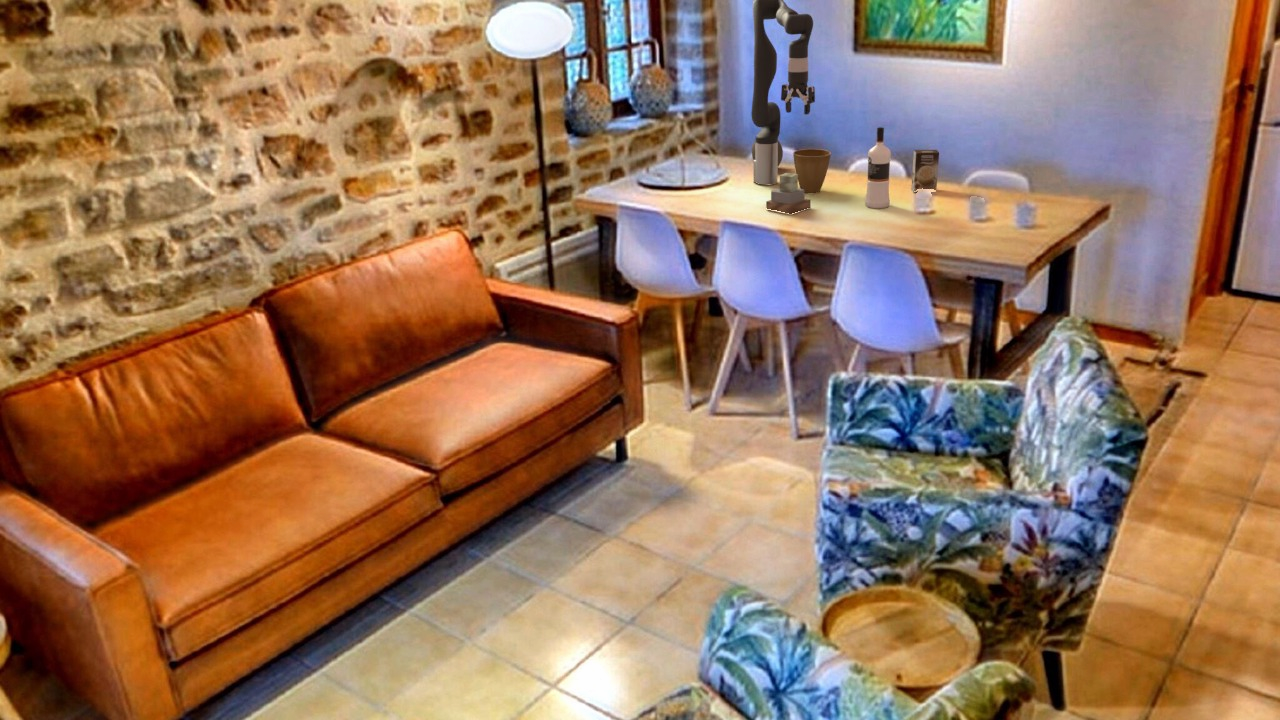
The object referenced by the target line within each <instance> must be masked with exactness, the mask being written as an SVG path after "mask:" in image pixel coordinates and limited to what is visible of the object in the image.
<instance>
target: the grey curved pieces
mask: <svg viewBox="0 0 1280 720" xmlns="http://www.w3.org/2000/svg"><path fill="white" fill-rule="evenodd" d="M783 153H784V150H783V146H782V144H781V143H780V140H778V167H779V166H780V165H781V163H782V160H783V156H784V155H783ZM751 157H752V160H753V161H754V160H755V141H754V143H753V144H752V146H751Z"/></svg>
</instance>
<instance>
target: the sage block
mask: <svg viewBox="0 0 1280 720" xmlns="http://www.w3.org/2000/svg"><path fill="white" fill-rule="evenodd" d="M798 185H799V182H798V174H796V173H789V172H785V173H782V174H780V175H779V188H780V191H782V192H794V191H796V190H797V188H798ZM798 189H799V188H798Z"/></svg>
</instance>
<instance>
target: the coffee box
mask: <svg viewBox="0 0 1280 720" xmlns="http://www.w3.org/2000/svg"><path fill="white" fill-rule="evenodd" d="M912 158H913V159H912V160H913V161H912V175H911V185H910V186H911V188H910V189H911V191H912V193H913V192H914V191H916V190H917V189H922V188H923V189H934V190H936V191H937V189H938V188H937V186H938V172H939V161H940V152H939V150H937V149H914V151H913V157H912Z"/></svg>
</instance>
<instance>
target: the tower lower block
mask: <svg viewBox="0 0 1280 720" xmlns="http://www.w3.org/2000/svg"><path fill="white" fill-rule="evenodd" d="M811 201H812V200H811V199H810V198H805V197H804V200H802V201H799V202H797V203H794V204H791V205H789V204H783V203H777V202H771V199H770V200H767V201H766V202H765V203H766V206H765V208H767V209H771V210H777V211H781V212H785V213H789V214H792V213H795V212H798V211H801V210H804V209H807V208H810V209H811V206H812V205H811V204H812V203H811ZM807 210H808V209H807Z"/></svg>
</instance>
